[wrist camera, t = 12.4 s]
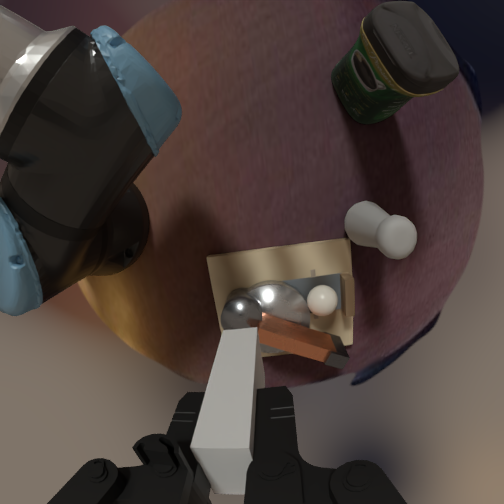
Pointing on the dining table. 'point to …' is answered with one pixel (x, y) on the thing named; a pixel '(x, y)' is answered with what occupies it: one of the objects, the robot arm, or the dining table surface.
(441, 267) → the dining table surface
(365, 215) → the salt shaker
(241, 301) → the grey round-based piece
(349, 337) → the stand
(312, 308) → the ball
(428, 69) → the coffee jar
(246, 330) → the robot arm
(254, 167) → the dining table surface
